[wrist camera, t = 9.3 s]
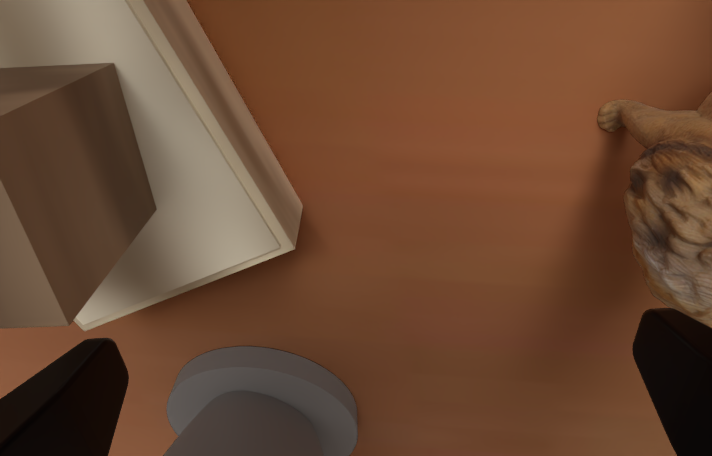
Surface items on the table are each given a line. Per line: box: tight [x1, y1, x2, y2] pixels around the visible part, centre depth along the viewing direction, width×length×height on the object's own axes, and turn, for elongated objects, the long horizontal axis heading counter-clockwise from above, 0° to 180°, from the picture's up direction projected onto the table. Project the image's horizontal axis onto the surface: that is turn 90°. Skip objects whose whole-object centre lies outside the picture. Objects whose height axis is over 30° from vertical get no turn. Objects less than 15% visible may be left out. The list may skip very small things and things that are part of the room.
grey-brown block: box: [0, 63, 157, 328], centre depth 13 cm, size 5×5×6 cm
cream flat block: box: [0, 0, 303, 331], centre depth 17 cm, size 10×14×4 cm
